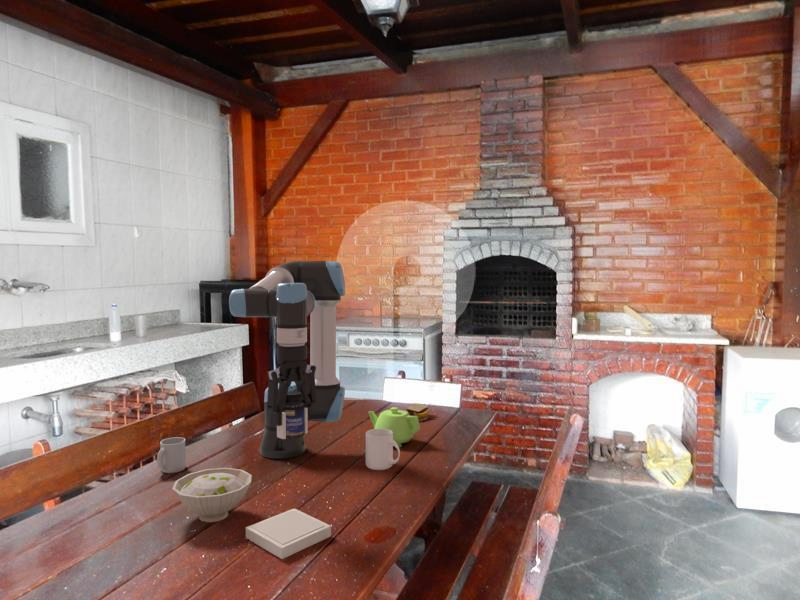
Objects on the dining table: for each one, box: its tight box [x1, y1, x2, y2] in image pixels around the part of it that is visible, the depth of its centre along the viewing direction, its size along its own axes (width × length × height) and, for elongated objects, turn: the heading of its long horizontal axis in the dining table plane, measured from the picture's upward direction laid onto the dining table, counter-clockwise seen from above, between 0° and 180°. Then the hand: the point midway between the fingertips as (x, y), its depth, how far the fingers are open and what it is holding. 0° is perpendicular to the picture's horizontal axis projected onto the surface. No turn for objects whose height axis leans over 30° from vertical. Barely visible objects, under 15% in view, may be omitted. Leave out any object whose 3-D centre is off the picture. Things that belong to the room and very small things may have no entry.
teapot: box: [368, 406, 421, 448], centre depth 201 cm, size 20×13×13 cm
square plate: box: [245, 508, 332, 560], centre depth 132 cm, size 14×14×3 cm
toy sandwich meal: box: [405, 403, 430, 422], centre depth 233 cm, size 12×14×5 cm
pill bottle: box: [283, 391, 305, 439], centre depth 142 cm, size 6×6×11 cm
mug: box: [365, 428, 401, 471], centre depth 177 cm, size 9×12×11 cm
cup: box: [156, 436, 187, 474], centre depth 173 cm, size 7×10×9 cm
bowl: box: [171, 467, 253, 523], centre depth 142 cm, size 19×19×10 cm
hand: (292, 434), depth 142 cm, fingers closed on pill bottle, 6 cm apart
